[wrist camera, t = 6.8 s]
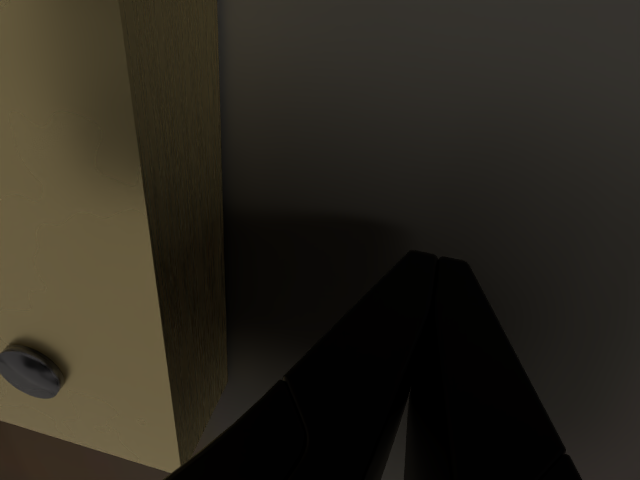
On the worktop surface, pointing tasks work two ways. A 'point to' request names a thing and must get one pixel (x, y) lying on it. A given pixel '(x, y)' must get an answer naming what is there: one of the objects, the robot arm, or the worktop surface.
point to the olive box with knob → (112, 224)
